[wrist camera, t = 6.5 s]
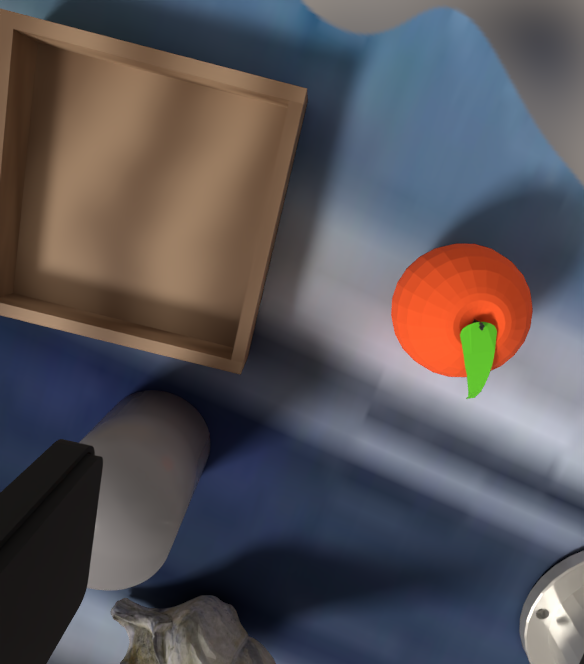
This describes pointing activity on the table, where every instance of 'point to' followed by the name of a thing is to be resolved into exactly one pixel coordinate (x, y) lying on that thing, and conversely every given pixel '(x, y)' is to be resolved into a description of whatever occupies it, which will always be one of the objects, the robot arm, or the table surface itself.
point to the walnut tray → (138, 191)
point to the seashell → (188, 634)
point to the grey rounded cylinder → (143, 484)
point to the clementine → (462, 312)
